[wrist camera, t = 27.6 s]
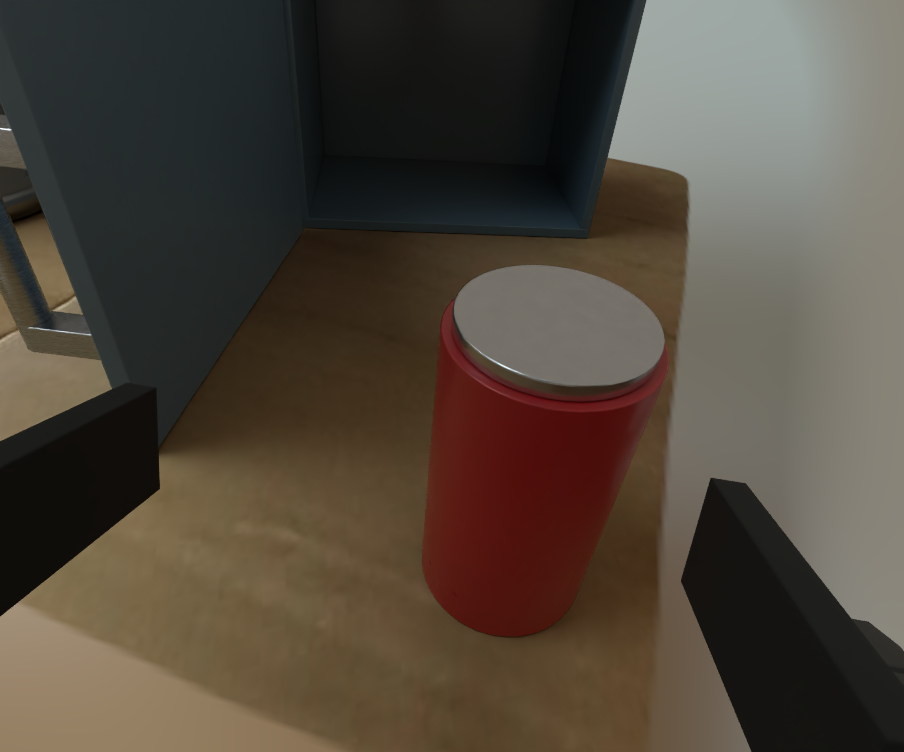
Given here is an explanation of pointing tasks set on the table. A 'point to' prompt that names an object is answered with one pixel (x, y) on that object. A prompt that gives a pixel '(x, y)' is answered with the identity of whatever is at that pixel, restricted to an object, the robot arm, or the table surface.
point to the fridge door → (149, 177)
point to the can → (532, 438)
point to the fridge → (456, 111)
